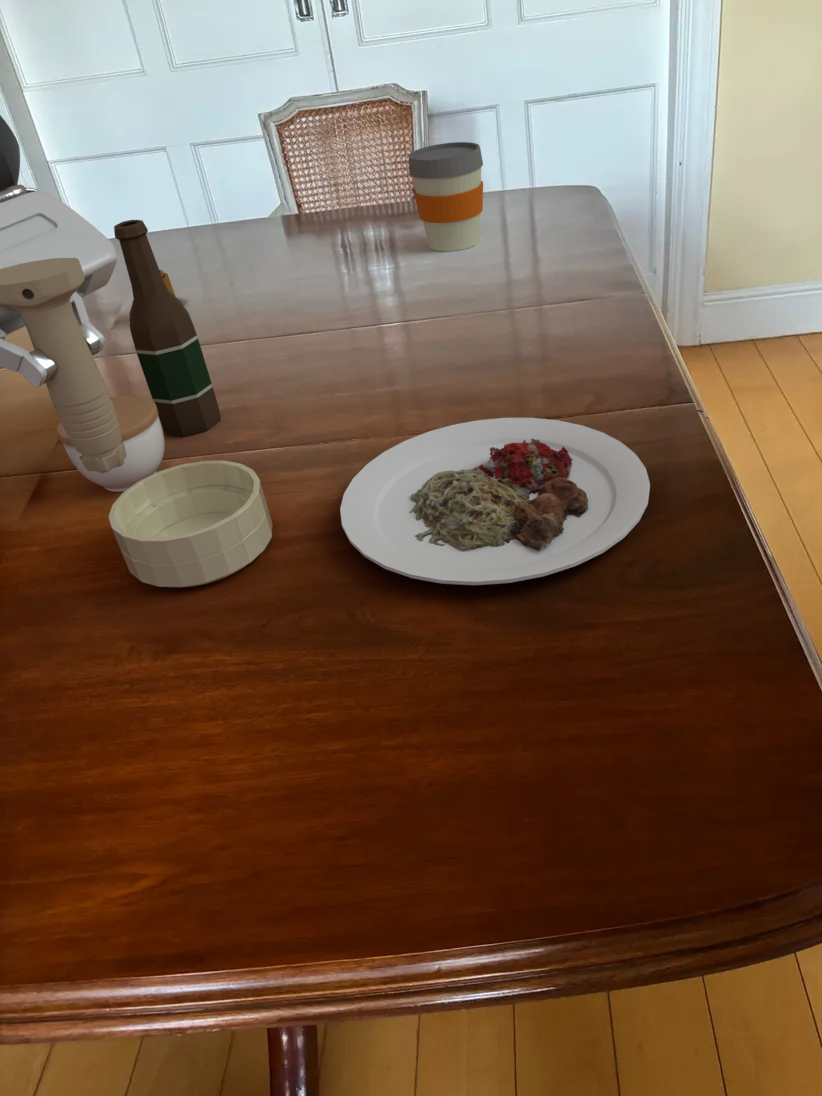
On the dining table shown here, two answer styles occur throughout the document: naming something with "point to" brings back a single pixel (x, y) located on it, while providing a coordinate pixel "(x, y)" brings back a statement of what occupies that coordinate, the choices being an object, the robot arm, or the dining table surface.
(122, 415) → the trinket box
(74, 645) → the dining table surface
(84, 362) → the handle
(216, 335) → the dining table surface
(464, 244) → the reusable coffee cup
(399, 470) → the plated food
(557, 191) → the dining table surface
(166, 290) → the beer bottle
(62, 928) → the dining table surface
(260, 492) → the bowl
